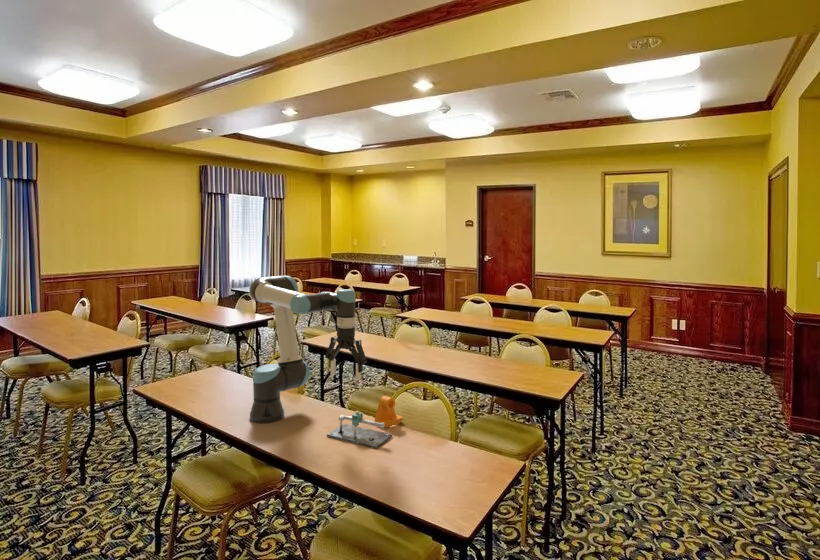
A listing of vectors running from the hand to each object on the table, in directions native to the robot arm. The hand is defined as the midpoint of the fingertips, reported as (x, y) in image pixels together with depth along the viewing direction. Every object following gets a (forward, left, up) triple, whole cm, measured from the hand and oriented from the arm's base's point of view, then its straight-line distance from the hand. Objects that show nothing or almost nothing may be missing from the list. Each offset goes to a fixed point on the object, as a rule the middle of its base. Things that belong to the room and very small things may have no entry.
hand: (345, 377), depth 200 cm
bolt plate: (+7, 0, -24) cm, 25 cm away
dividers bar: (+8, -1, -23) cm, 25 cm away
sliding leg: (+6, -1, -23) cm, 24 cm away
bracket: (+11, +18, -24) cm, 32 cm away
